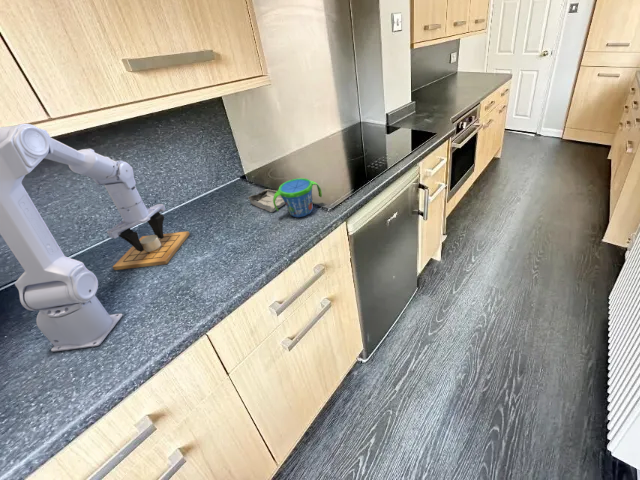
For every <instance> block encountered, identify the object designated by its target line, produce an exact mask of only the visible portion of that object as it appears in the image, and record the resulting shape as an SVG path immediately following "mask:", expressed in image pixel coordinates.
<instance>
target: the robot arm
mask: <svg viewBox="0 0 640 480" xmlns="http://www.w3.org/2000/svg"><path fill="white" fill-rule="evenodd" d="M44 159H45V160H50V161H53V162H56V163H60V164H64V165H68V167H69V169H70V170H71V171H72V172H73V173H75V174H78V175H82V176H85V177H87V178H89V179H92V180H93V182H94V183H95V184H96V185H97V186H104V188H105V190H106V192H107V193H108V195H109V198H110V199H111V200H112V202H113V205H114V206H115V207H116V209H117V211H118V213H119V215H120V216H121V218H122V221H120V222H118V223H117V224H116V225H115V226H113V227H112V228H111V229H109V230H107V231H106V233H107V235H108V236H109V238H110V239H117V238H121V239H123V240H125V241H126V242H127V243H129V244H130V245H131V247H132V246H134V247H135V248H136V250H137V251H141V252H142V251H144V248H143V246H142V244H141V243H140V241H139V239H140V238H139V235H138V231H134V230H133V229H132V228H135V227H136V226H139V225H140V224H145V223H147V224H148V226H150V228H151V230H152V231H153V233H154V234H153V235H157V237H158V238H160V239H162V238H164V236H163V234H164V230H163V229H164V228H163V227H164V219H165V215H164V214H162V213H161V212H165V211H167V209H166V207H165V205H164V204H162V203H157V204H155V205H152V206H150V207H148V208H147V207H146V205H145V203H144V201H143V199H142V197H141V194H140V193H139V191H138V189H137V187H136V186H137V185H136V184H137V182H136V179H135V175H134V174H135V173H134V167H133V166H131V164H130V163H128V162H127V161H124V160H121V159H120V160H114V159H111V158H110V157H109V156H106V155H105V156H104V155H103V154H99V153H97V152H95V149H93V148H83V149H79V150H77V149H75V148H73V147H71V146H69V145H67V144H65V143H63V142H61V141H59V140H57V139H55V138H53V137H51V136H50V134H49V133H48V131H47V130H46V129H44V128H40V127H38V126H36V125H34V124H31V123H19V124H17V125H8V126H0V236H1V238H2V239H3V240H4V242H5V244H6V245H7V247H8V248H9V249H10V251H11V252H12V254H13V255H14V257H15V259H16V260H17V261H18V263H19V264H20V265H21V268H22V269H23V273H22V274H21V275H20V276H19V277H18V278H17V279H16V281H15V282H14V286H15V287H16V288H17V290H18V294H19V302H20V303H21V304H20V305H22V307H23V308H25V310H27V311H30V312H31V311H32V312H36V311H39V312H38V313H37V315H36V327H37V329H38V330H39V331H40V332H41V333H42V334H43V336H45V338H46V339H47V340H48V341H49V342H50V343H51V344H52V345H53V347H52V348H51V349H50V351H51V352H53V353H54V352H61V351H62V352H63V351H69V350H70V351H71V350H78V349H85V348H92V347H93V348H94V347H99V346H100V345H101V344H102V343H103V342H104V340H105V339H106V338H107V337H108V335H109V334H110V333H111V332H112V330H113V329H114V327H115V326H116V325H117V324H118V323H119V321H120V319H121V318H122V317H123V315H124V314H122V313H113V314H109V313H108V311H107V310H106V308H105V307H104V306H103V304H102V303H101V301H100V299H99V298H98V297H97V295H96V294H97V293H98V288H99V281H98V277H97V276H96V274H95V273H94V272H93V271H91V270H90V269H88V268H87V267H86V265H85V264H84V262H83V261H80V260H78V259H74V258H70V257H68V256H66V255H65V254H64V252H63V250H62V249H61V247H60V246H59V244H58V242H57V240H56V239H55V237H54V236H53V234H52V232H51V231H50V229H49V226H47V224H46V222H45V220H44V219H43V217H42V216H41V213H40V212H39V210H38V209H37V207H36V205H35V204H34V202H33V200H32V199H31V197H30V195H29V193H28V192H27V190H26V188H25V186H24V185H23V180H24V178H25V177H26V175H28V174H30V173H31V172H32V171H33V170H34V169H35V168H36V167H37V166H38V165H39V164H40V163H41V162H42V161H43V160H44Z"/></svg>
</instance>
